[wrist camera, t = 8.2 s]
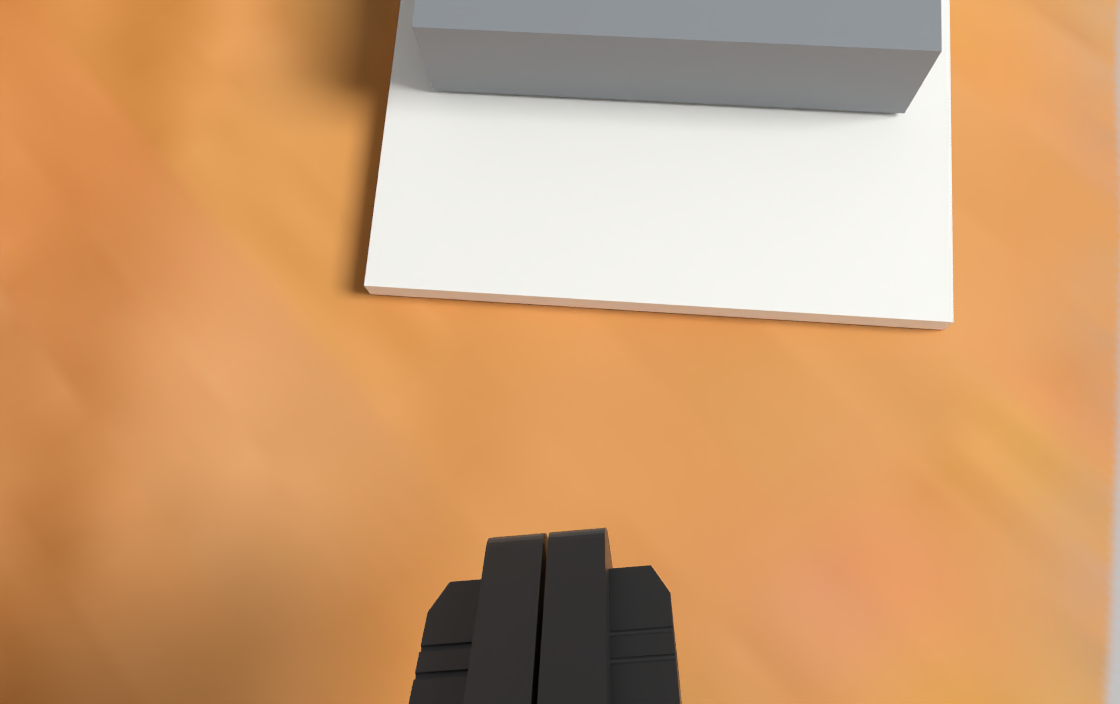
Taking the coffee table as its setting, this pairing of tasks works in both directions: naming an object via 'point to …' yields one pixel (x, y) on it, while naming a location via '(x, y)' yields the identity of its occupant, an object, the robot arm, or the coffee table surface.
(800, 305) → the mat
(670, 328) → the coffee table surface
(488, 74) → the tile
